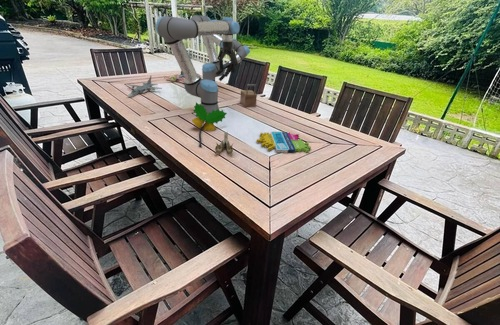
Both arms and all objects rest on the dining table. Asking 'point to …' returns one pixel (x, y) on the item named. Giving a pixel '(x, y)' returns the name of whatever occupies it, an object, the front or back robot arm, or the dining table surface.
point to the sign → (283, 142)
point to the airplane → (142, 88)
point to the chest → (248, 100)
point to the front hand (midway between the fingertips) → (227, 71)
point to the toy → (175, 77)
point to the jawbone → (224, 145)
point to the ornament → (207, 117)
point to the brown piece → (249, 91)
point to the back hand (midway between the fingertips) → (218, 77)
